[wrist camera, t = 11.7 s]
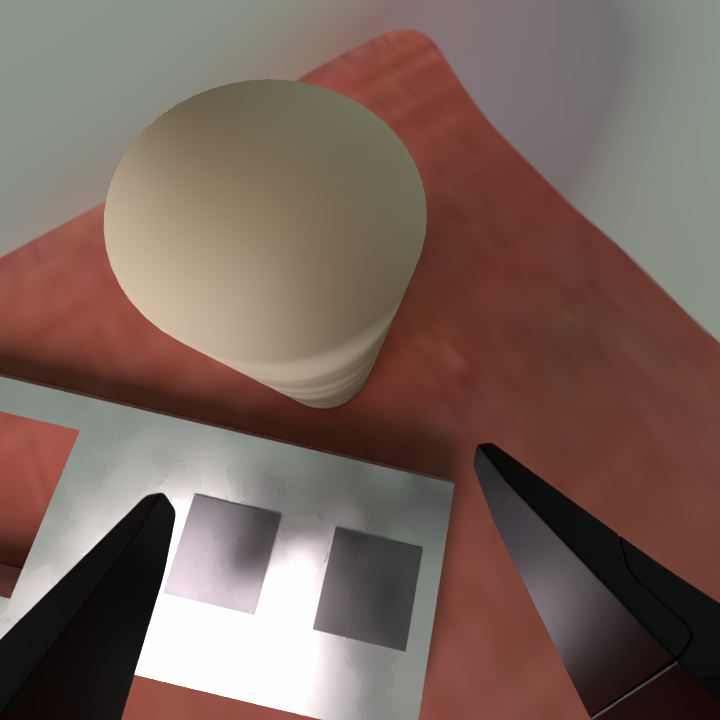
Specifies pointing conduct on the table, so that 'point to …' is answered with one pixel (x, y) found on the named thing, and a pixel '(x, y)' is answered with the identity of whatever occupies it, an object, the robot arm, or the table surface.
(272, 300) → the pin
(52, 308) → the table surface
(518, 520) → the robot arm
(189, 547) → the grey slotted plate
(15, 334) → the table surface
